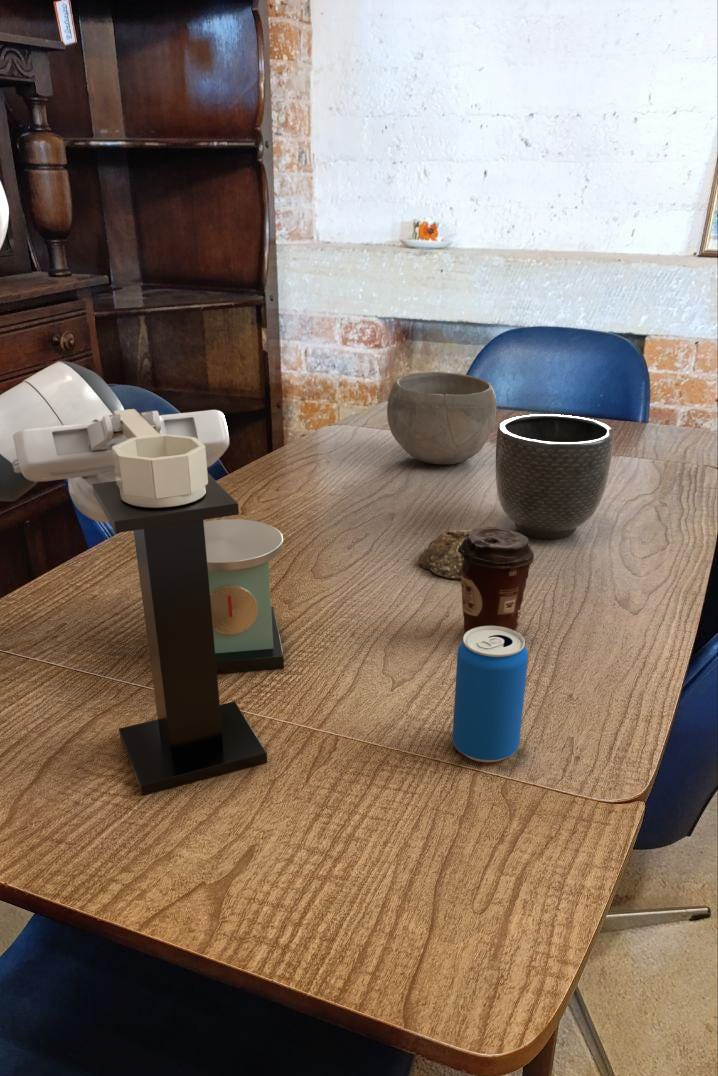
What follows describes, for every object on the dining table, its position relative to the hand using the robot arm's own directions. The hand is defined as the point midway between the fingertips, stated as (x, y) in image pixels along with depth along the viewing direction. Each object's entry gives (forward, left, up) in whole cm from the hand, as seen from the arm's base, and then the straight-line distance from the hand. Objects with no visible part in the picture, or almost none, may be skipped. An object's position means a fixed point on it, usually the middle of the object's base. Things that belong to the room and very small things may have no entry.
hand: (133, 421), depth 79 cm
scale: (-1, +14, -30) cm, 33 cm away
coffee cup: (+25, +30, -30) cm, 49 cm away
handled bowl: (+4, -3, -4) cm, 6 cm away
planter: (+20, +68, -30) cm, 77 cm away
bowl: (-10, +95, -30) cm, 100 cm away
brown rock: (+14, +49, -30) cm, 59 cm away
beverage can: (+33, +8, -30) cm, 45 cm away
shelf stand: (+8, -6, -30) cm, 31 cm away
